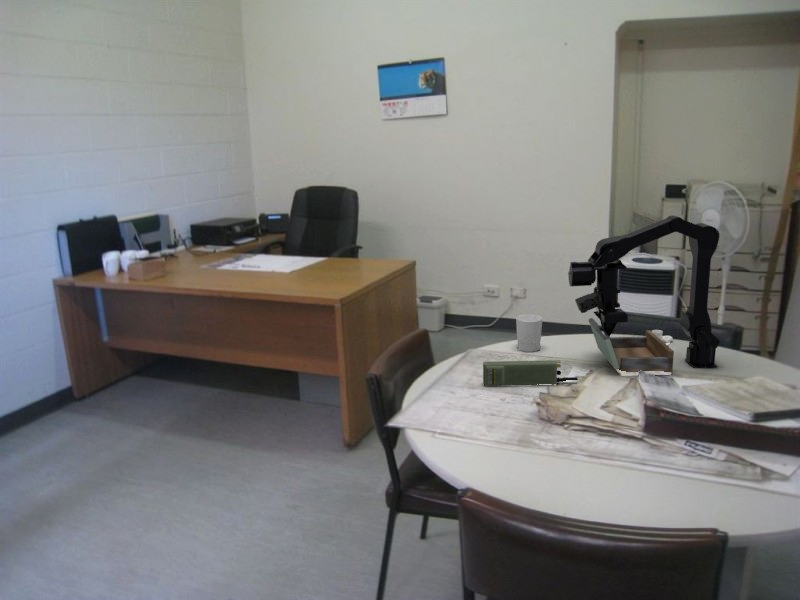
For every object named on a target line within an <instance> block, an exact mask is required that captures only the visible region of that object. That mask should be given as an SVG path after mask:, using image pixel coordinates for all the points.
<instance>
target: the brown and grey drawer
mask: <svg viewBox="0 0 800 600" xmlns="http://www.w3.org/2000/svg"><path fill="white" fill-rule="evenodd" d="M644 335H645V336H616V337H615V336H613V337H612V336H610V341H611V344H612V347H613V350H614V353H615V356H616V359H617V362H618V365H619V370H621V371H626V372H638V371H640V370H642V371H664V372H672V373H673V367H674V365H673V364H674V354H675V353H674V352H675V351H674V350H673V349H672V348H671V347H670V346H669V345H666V342H663V341H662V340H660V339H659V338H658V337H657V336H656V335H655V334H654V333H652V330H650V329H649V330H647V329H646V330H645V334H644Z"/></svg>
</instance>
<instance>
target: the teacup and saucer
mask: <svg viewBox="0 0 800 600" xmlns="http://www.w3.org/2000/svg"><path fill="white" fill-rule="evenodd" d="M651 332H652V333H654V334H655V335H656V336H657V337H658V338H659V339H660V340H662V341H663V342H664V343H665V344H666V345H667V346H670V344H671V342H672V341H673V339H674V338H673V336H671V335H663V333H664V332H663V330H660V329H652V330H651Z"/></svg>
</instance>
